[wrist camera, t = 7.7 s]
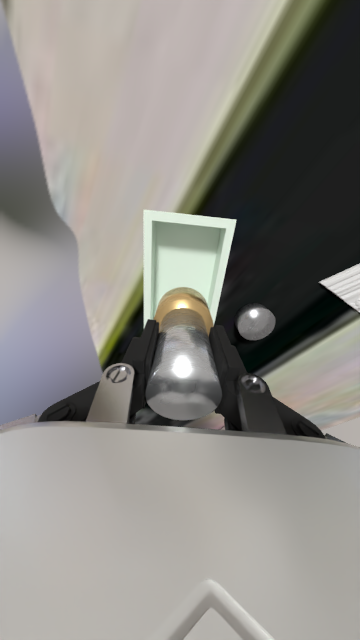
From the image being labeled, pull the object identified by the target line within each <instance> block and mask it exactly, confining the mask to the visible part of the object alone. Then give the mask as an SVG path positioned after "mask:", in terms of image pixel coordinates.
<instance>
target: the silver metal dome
mask: <svg viewBox="0 0 360 640" xmlns="http://www.w3.org/2000/svg"><path fill="white" fill-rule="evenodd" d="M234 322H235V325H236V327H237V329H238V331H239V333H240V334H241V336H242V337H244V338H246V339H248V340H259V339H262V338H264V337H266V336H267V335H268V334H270V333H271V331H272V330H273V328H274V326H275V317H274V315H273V314H272V313H271V312H270V311H269V310H268V309H267V308H266V307H265V306H263V305H262V304H259V303H250V304H247V305H245V306H243V307H242V308H240V309H239V310H238V312H237V313H236V315H235V319H234Z"/></svg>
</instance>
